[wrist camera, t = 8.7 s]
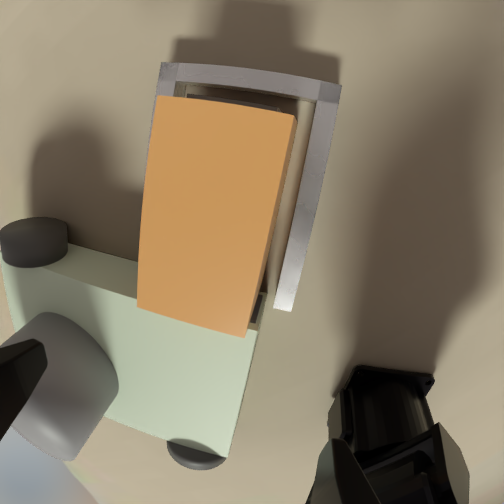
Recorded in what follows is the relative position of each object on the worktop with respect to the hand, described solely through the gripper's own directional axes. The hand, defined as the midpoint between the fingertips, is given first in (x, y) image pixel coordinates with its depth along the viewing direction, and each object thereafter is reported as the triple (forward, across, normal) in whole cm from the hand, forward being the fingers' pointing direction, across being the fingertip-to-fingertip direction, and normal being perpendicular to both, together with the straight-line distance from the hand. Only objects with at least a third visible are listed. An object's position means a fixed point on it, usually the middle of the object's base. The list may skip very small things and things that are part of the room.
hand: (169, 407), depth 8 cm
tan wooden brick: (+12, +1, -4) cm, 12 cm away
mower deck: (+11, +7, +8) cm, 16 cm away
